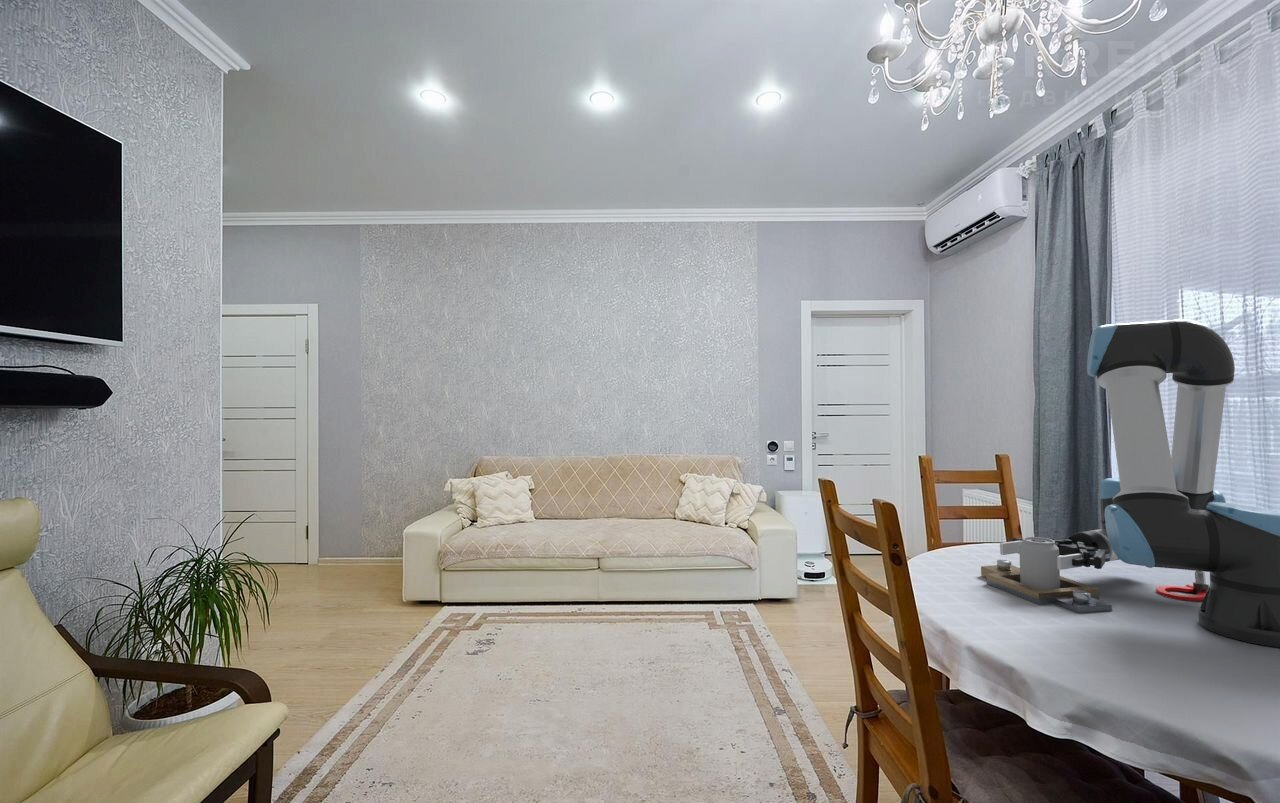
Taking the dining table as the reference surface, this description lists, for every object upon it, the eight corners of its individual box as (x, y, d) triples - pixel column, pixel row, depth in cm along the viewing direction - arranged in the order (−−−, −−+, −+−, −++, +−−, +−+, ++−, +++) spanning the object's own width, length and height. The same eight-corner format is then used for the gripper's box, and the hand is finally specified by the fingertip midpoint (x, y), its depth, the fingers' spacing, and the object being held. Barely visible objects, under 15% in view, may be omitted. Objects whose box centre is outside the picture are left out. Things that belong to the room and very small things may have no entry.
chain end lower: (1126, 609, 119) (1126, 594, 119) (1063, 614, 117) (1063, 599, 117) (1041, 579, 140) (1041, 567, 140) (986, 583, 138) (986, 571, 138)
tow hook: (1178, 603, 123) (1223, 601, 123) (1173, 543, 124) (1218, 541, 123) (1146, 591, 132) (1188, 589, 131) (1141, 535, 132) (1183, 533, 132)
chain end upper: (1099, 599, 125) (1098, 580, 125) (1038, 604, 123) (1038, 585, 123) (1021, 572, 146) (1021, 556, 146) (968, 576, 144) (968, 559, 144)
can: (1058, 589, 133) (1057, 537, 133) (1061, 598, 127) (1060, 544, 127) (1020, 584, 137) (1018, 534, 137) (1021, 593, 131) (1019, 540, 131)
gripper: (1154, 576, 126) (1087, 588, 119) (1042, 550, 149) (981, 559, 142) (1153, 542, 126) (1086, 551, 119) (1041, 521, 149) (980, 528, 143)
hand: (1028, 555), depth 131 cm, fingers open, 13 cm apart
